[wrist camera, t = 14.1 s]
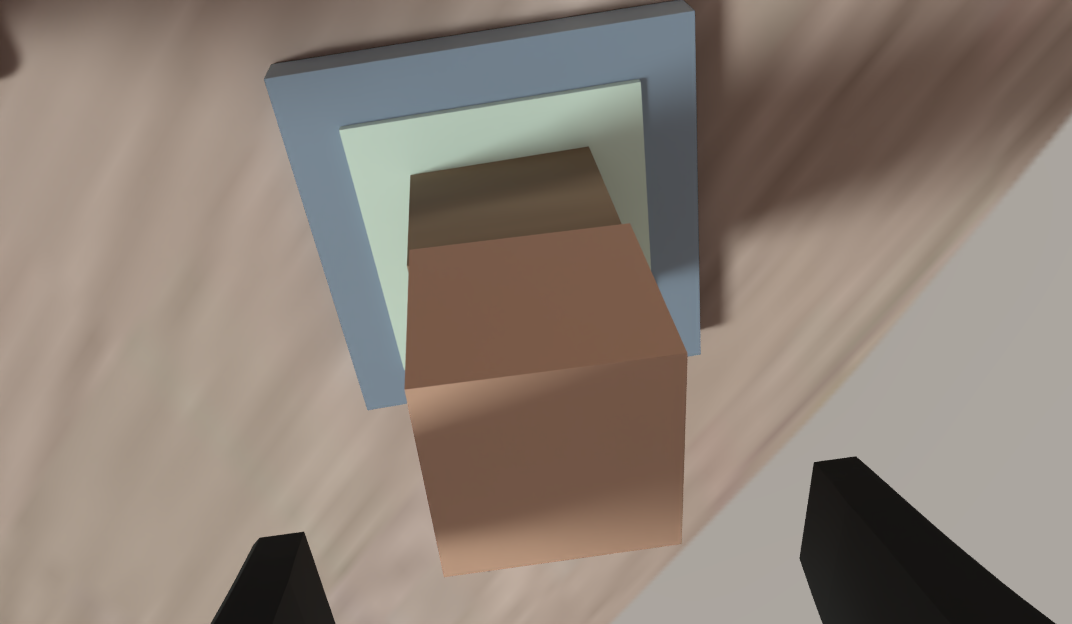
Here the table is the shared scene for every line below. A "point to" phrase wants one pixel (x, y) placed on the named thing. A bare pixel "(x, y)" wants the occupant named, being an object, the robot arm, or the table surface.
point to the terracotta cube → (545, 398)
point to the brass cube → (508, 199)
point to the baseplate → (491, 150)
